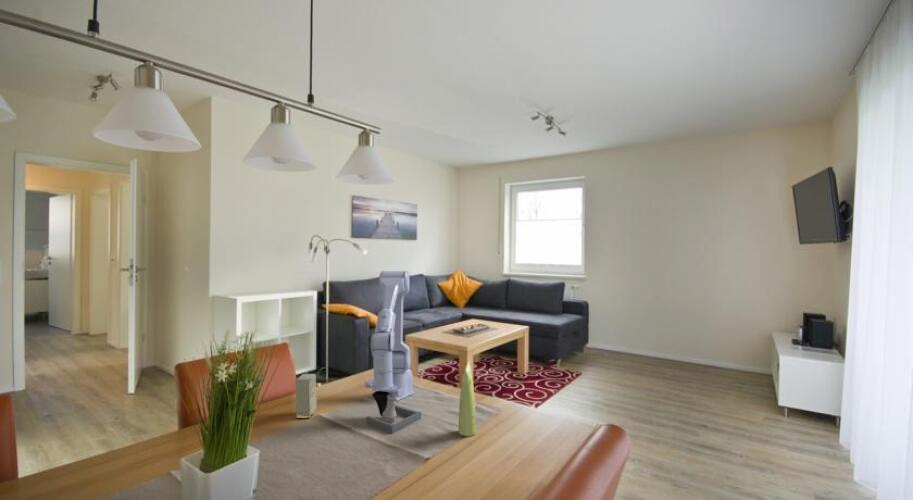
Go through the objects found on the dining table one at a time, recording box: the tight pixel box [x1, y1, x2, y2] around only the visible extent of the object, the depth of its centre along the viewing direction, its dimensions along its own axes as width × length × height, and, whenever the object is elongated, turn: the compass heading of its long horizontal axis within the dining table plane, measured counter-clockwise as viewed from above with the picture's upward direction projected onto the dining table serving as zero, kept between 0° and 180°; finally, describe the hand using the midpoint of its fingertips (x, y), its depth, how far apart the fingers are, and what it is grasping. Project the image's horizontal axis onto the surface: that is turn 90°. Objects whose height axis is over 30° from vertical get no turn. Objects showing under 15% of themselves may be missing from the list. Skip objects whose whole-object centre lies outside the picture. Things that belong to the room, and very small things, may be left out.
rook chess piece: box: [381, 393, 397, 423], centre depth 127 cm, size 4×4×8 cm
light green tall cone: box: [458, 360, 477, 437], centre depth 118 cm, size 6×5×20 cm
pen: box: [365, 404, 422, 434], centre depth 127 cm, size 12×11×2 cm
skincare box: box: [295, 373, 318, 416], centre depth 132 cm, size 6×4×12 cm
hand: (383, 414), depth 129 cm, fingers closed
